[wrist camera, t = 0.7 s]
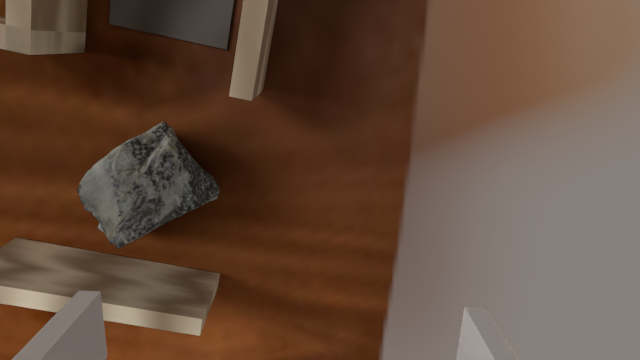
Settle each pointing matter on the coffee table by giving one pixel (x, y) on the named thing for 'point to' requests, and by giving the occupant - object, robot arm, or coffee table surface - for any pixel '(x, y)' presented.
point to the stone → (144, 185)
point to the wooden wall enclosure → (106, 269)
